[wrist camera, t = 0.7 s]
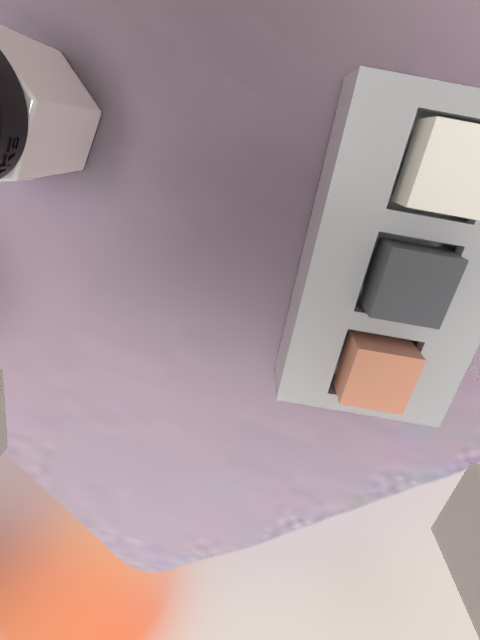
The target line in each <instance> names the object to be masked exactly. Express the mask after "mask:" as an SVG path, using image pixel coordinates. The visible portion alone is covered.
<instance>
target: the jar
mask: <svg viewBox="0 0 480 640" xmlns="http://www.w3.org/2000/svg"><path fill="white" fill-rule="evenodd" d="M100 117H101V110H100V109H99V107H98V106H97V104H96V103H95V101H94V100H93V98H92V97H91V96H90V94H89V93H88V91H87V90H86V88H85V87H84V85H83V84H82V82H81V81H80V79H79V78H78V76H77V75H76V74H75V72H74V71H73V69H72V68H71V66H70V65H69V63H68V62H67V60H66V59H65V57H64V56H63V54H62V53H61V52H60V51H58V50H56V49H54V48H52V47H49V46H47V45H45V44H43V43H41V42H38V41H36V40H34V39H32V38H29V37H27V36H25V35H23V34H21V33H18V32H16V31H14V30H12V29H9V28H7V27H5V26H3V25H0V182H9V181H22V180H32V179H37V178H39V177H45V176H51V175H57V174H64V173H70V172H76V171H82V170H83V169H84V167H85V164H86V161H87V157H88V154H89V151H90V148H91V145H92V142H93V139H94V136H95V133H96V130H97V126H98V123H99V120H100Z"/></svg>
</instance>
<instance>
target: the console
mask: <svg viewBox="0 0 480 640" xmlns="http://www.w3.org/2000/svg"><path fill="white" fill-rule="evenodd" d="M434 116H439V117H445V118H450V119H455V120H461V121H466V122H471V123H477V124H480V88H476V87H471V86H465V85H460V84H455V83H450V82H444V81H439V80H434V79H429V78H423V77H418V76H413V75H407V74H402V73H397V72H392V71H386V70H381V69H376V68H370V67H365V66H359V67H358V68H357V69H355V70H354V71H353V72H351V73H350V74H349V75H348V76H346V77H345V78H344V80H343V84H342V88H341V92H340V97H339V101H338V105H337V109H336V113H335V117H334V122H333V126H332V130H331V134H330V138H329V143H328V147H327V151H326V155H325V159H324V163H323V168H322V172H321V176H320V180H319V184H318V188H317V193H316V197H315V201H314V205H313V209H312V214H311V218H310V222H309V226H308V230H307V234H306V239H305V243H304V247H303V251H302V255H301V259H300V264H299V268H298V272H297V276H296V280H295V285H294V289H293V293H292V297H291V301H290V305H289V310H288V314H287V318H286V322H285V326H284V331H283V335H282V339H281V343H280V347H279V351H278V356H277V360H276V364H275V368H274V370H275V389H276V400H279V401H285V402H291V403H297V404H303V405H309V406H315V407H320V408H326V409H332V410H338V411H344V412H350V413H356V414H362V415H368V416H374V417H379V418H385V419H391V420H397V421H403V422H409V423H415V424H421V425H427V426H433V427H438V428H439V426H440V424H441V422H442V420H443V418H444V416H445V414H446V412H447V410H448V408H449V406H450V404H451V402H452V400H453V397H454V395H455V393H456V391H457V389H458V387H459V385H460V383H461V381H462V379H463V377H464V375H465V373H466V371H467V369H468V367H469V365H470V363H471V361H472V358H473V356H474V354H475V352H476V350H477V348H478V346H479V344H480V221H479V220H474V219H468V218H463V217H457V216H452V215H446V214H441V213H435V212H429V211H424V210H418V209H413V208H407V207H405V206H402V205H400V204H398V203H396V202H393V201H391V200H392V197H393V194H394V191H395V188H396V185H397V181H398V178H399V175H400V172H401V169H402V166H403V163H404V160H405V157H406V153H407V150H408V147H409V144H410V141H411V138H412V135H413V132H414V128H415V125H416V122H417V119H421V118H428V117H434ZM380 237H384V238H390V239H396V240H401V241H407V242H412V243H418V244H423V245H429V246H435V247H440V248H446V249H449V250H451V251H453V252H455V253H456V254H458V255H460V256H462V257H463V258H465V259H467V260H469V262H468V264H467V267H466V269H465V271H464V274H463V276H462V278H461V281H460V283H459V285H458V288H457V290H456V292H455V295H454V297H453V299H452V302H451V304H450V306H449V309H448V311H447V313H446V316H445V318H444V320H443V322H442V325H441V327H440V329H439V330H438V329H433V328H427V327H421V326H415V325H410V324H404V323H398V322H393V321H387V320H381V319H375V318H370V317H368V315H367V313H366V312H365V310H364V308H363V307H362V305H361V303H360V302H359V300H360V297H361V294H362V291H363V288H364V284H365V281H366V278H367V275H368V272H369V269H370V266H371V263H372V260H373V256H374V253H375V250H376V247H377V244H378V241H379V238H380ZM350 330H352V331H357V332H363V333H369V334H375V335H380V336H386V337H392V338H398V339H403V340H409V341H412V342H413V343H414V345H415V346H416V347H417V349H418V350H419V351H420V353H421V354H422V355H423V357H424V358H425V359H426V362H425V364H424V367H423V369H422V371H421V374H420V376H419V378H418V381H417V383H416V385H415V388H414V390H413V392H412V395H411V397H410V399H409V402H408V404H407V406H406V409H405V411H404V413H403V415H399V414H393V413H387V412H381V411H375V410H369V409H364V408H358V407H352V406H346V405H340V404H339V401H338V398H337V394H336V391H335V387H334V384H333V381H334V378H335V375H336V372H337V369H338V366H339V363H340V359H341V356H342V353H343V350H344V347H345V344H346V341H347V338H348V334H349V331H350Z"/></svg>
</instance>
